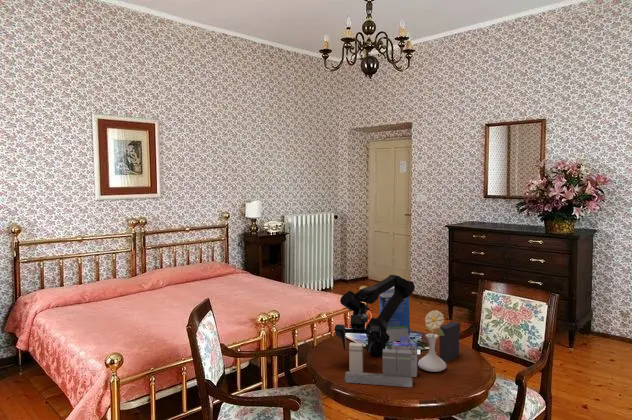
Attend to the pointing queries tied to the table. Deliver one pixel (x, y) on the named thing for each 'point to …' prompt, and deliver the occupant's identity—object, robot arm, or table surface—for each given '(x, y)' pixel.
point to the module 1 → (356, 357)
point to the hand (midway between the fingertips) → (355, 350)
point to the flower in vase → (433, 343)
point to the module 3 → (404, 362)
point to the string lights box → (396, 317)
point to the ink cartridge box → (407, 346)
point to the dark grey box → (449, 341)
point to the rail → (378, 379)
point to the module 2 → (389, 361)
